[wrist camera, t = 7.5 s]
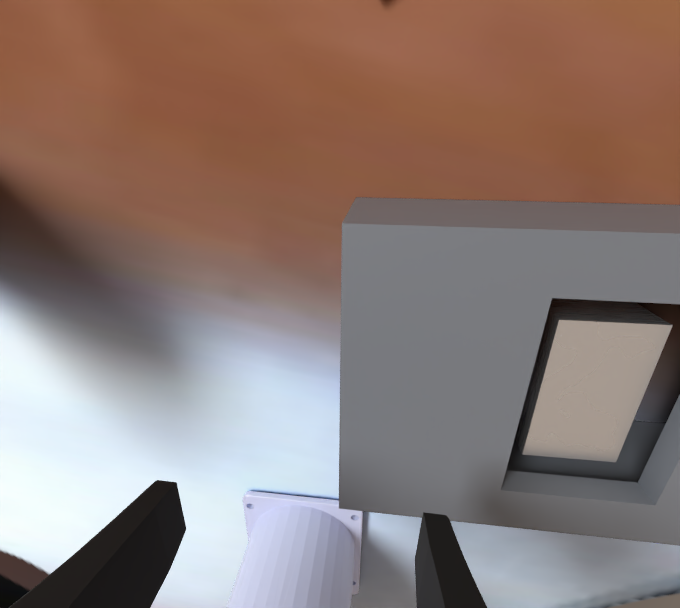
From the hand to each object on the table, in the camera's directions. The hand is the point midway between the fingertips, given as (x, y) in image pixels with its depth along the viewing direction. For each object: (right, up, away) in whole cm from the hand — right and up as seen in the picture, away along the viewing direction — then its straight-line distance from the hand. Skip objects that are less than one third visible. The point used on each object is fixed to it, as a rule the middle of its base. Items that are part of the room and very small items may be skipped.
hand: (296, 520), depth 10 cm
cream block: (+11, +5, +7) cm, 14 cm away
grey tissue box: (+11, +5, +7) cm, 14 cm away
